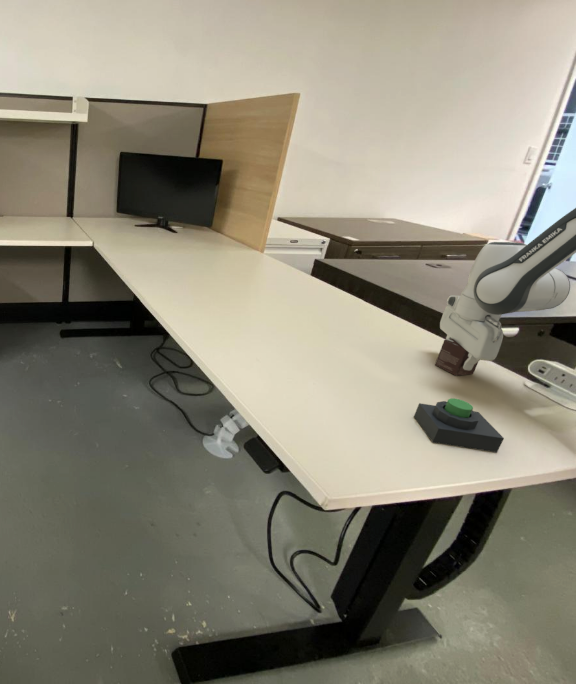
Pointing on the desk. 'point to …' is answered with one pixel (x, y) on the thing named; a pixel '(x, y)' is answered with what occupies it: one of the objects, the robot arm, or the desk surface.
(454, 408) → the green button cap
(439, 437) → the button base
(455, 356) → the box
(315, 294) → the desk surface
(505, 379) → the desk surface
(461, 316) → the robot arm
